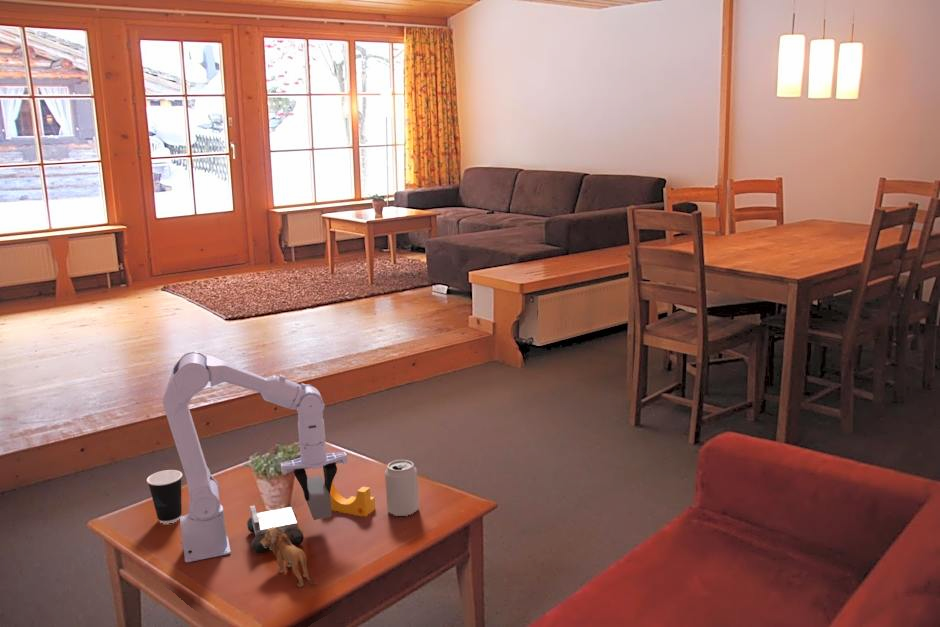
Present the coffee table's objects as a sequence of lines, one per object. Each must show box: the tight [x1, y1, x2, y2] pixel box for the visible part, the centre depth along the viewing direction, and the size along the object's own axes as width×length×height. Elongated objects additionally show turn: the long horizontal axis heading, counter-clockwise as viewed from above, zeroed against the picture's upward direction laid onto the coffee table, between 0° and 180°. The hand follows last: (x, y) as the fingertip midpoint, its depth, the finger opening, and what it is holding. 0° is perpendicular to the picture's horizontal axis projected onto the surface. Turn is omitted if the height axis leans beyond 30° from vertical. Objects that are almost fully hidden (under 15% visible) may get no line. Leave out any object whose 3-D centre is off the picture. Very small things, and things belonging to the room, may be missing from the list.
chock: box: [306, 475, 333, 521], centre depth 191 cm, size 4×11×5 cm, turn 20°
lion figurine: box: [260, 527, 317, 588], centre depth 175 cm, size 15×5×9 cm, turn 51°
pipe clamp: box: [324, 481, 376, 518], centre depth 203 cm, size 12×4×6 cm, turn 66°
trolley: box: [246, 504, 305, 555], centre depth 190 cm, size 11×11×7 cm
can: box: [384, 459, 420, 517], centre depth 200 cm, size 8×8×12 cm
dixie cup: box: [146, 469, 183, 525], centre depth 200 cm, size 8×8×11 cm
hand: (317, 497), depth 192 cm, fingers closed on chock, 4 cm apart
